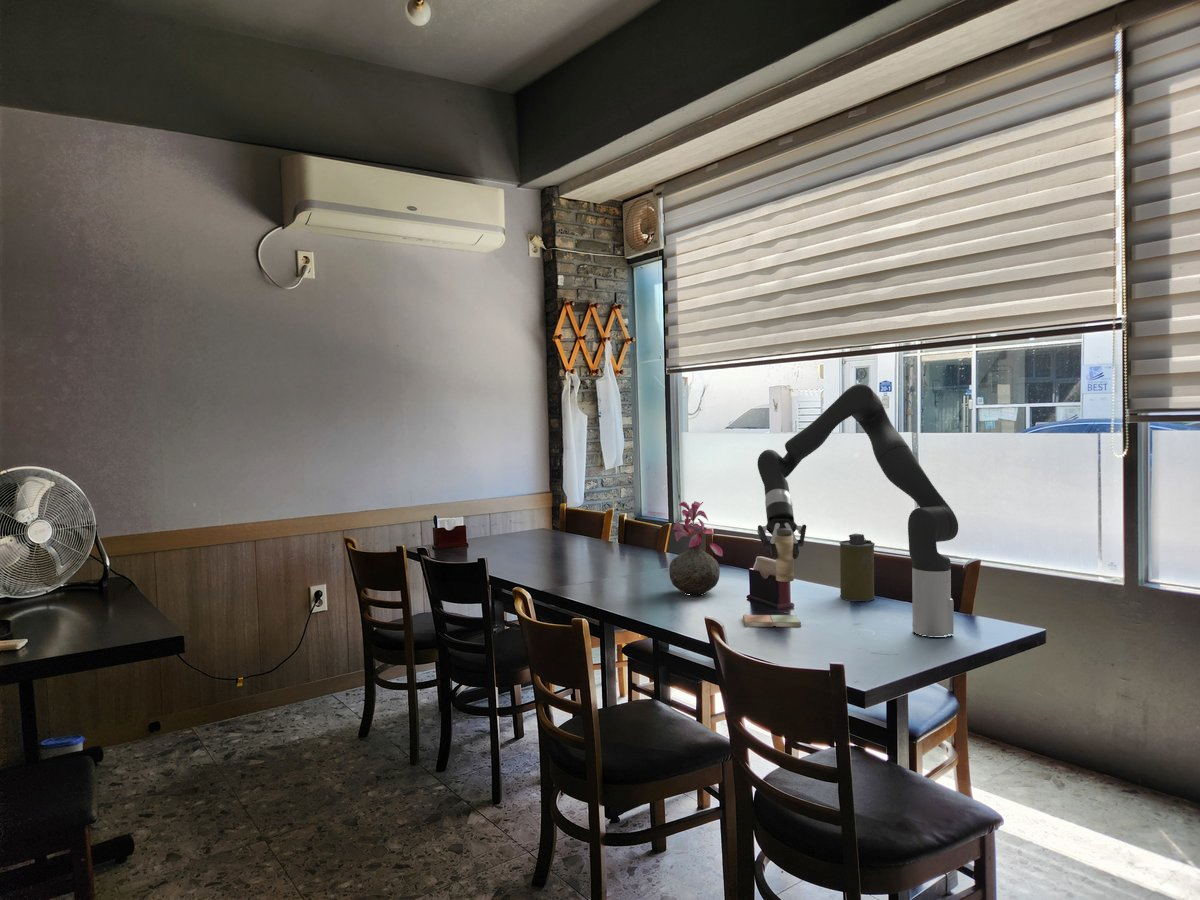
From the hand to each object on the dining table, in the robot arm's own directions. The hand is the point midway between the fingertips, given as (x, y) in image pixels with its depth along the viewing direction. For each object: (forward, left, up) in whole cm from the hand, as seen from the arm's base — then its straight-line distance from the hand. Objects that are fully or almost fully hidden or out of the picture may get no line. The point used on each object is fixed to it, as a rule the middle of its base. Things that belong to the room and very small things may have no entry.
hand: (785, 557), depth 217 cm
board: (+4, -2, -19) cm, 19 cm away
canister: (-26, -32, -19) cm, 45 cm away
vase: (+24, -37, -19) cm, 48 cm away
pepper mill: (0, -2, -7) cm, 7 cm away
